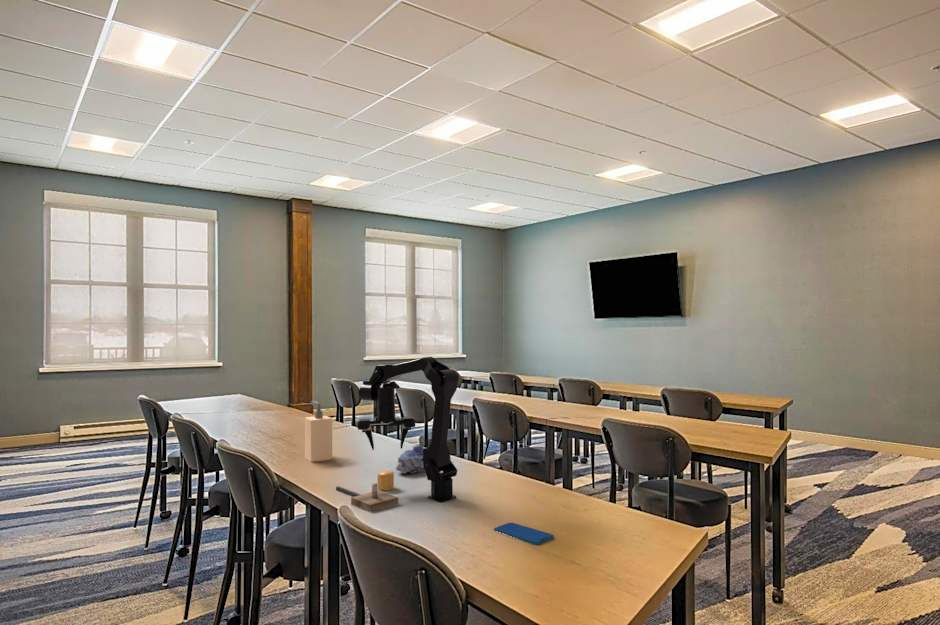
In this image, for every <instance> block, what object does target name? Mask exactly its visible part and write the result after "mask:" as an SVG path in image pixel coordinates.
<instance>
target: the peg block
mask: <svg viewBox="0 0 940 625" xmlns="http://www.w3.org/2000/svg"><path fill="white" fill-rule="evenodd" d="M350 504H351V505H353V506H355V507H357V506H358V507H357V508H359V507H361V508H360V509H362V508H363V509H362V510H364V509H366V510H365V511H367V510H368V511H367V512H369V511H372V512H375V511H374V510H376V511H379V510H382V508H383V509H385V508H389V507H390V508H391V507H393V506H396V505H399V496H395V495H393V494H390V493H387V492H384V491H381V490H378V482H377V483H376V482H374V483H371V492H367V493H363V494H361V495H359V496H355V497H353V496H350ZM378 509H379V510H378Z"/></svg>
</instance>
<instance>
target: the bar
mask: <svg viewBox="0 0 940 625" xmlns="http://www.w3.org/2000/svg"><path fill="white" fill-rule="evenodd" d="M335 490H336V491H338V492H340V493H343V494H345V495H347V496H350V497H355V496H359V495H362V494H360V493H359V492H358V493H357V492H354V491H352V490H350V489H347V488H345V487H342V486H339V485H338V486H336V487H335Z"/></svg>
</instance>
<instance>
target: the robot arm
mask: <svg viewBox="0 0 940 625" xmlns="http://www.w3.org/2000/svg"><path fill="white" fill-rule="evenodd" d="M421 371H422V372H423V374H424V376H425V378H426V379H427V380H428V381H429V382H430V383H431V384H430V385H431V392H432V394H433V395H434V396H433V397H434V406H433V417H432V419H433V420H432V426H431V427H432V428H431V438H430V439H431V440H430V444H429V446H427V447H423V448H424V450H423V459H422V461H423V467H424V468H425V471H424V472H425V476H426V480H428V481H430V483H431V484H430V488H431V489H430V491H431V492H430V494H431V495H428V496H427V498H428V499H430V500H433V501H437V502H439V503H443V502H446V501H450V500H453V499H457V495H453V493H454V492H453V491H454V490H453V488H454V487H453V477H456V476H457V474H458V469H457V467H456V466H455V464H454V463H453V461H452V460H451V452H450V449H449V447H448V435H449V434H448V433H449V422H450V413H451V403H452V398H453V397H454V395H455V393H456V391H457V389H458V386H459V380H460V379H459V378H460V376H459V374H458V373H457V372H456V371H455V370H454V369H453V368H450V367H449V366H448V365H446V364H444V363H441V362H440V361H438V360H437V359H436V358H435V357H433V356H423V357H421V358H418V359H414V360H409V361H406V362H401V363H387V364H384V363H383V364H377V365H376V366H375V367H374V370H373V372H372V374H371V377H370V378H369V380H363V381H362V385H361V386H360V387H359V390H358V396H359V399H360V401H361V400H362V401H368V402H377V407H374V408H373V418H374V419H375V418H377V420H371V418H359V420H358V421H357V430H359V431H361V432H362V433H364V434H365V435H366V437H367V440H368V442H369V443H370V447H371V449H372V451H374V450H375V444H374V437H373V431H372V430H373V429H372V427H387V426H389V427H390V426H401V435H400V436H401V437H400V442H399V443H400V450H402V449H403V446H404V443H405V438H406V437H407V435H408V433H409V431H412V428H416V419H415V416H403V417H402V419H396V399H395V398H396V394H395V392H396V389H400V385H399V384H398V383H397V382H396V381H395V380H397V379H400V378H401V377H403V376H404V375H408V374H413V373H417V372H421Z"/></svg>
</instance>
